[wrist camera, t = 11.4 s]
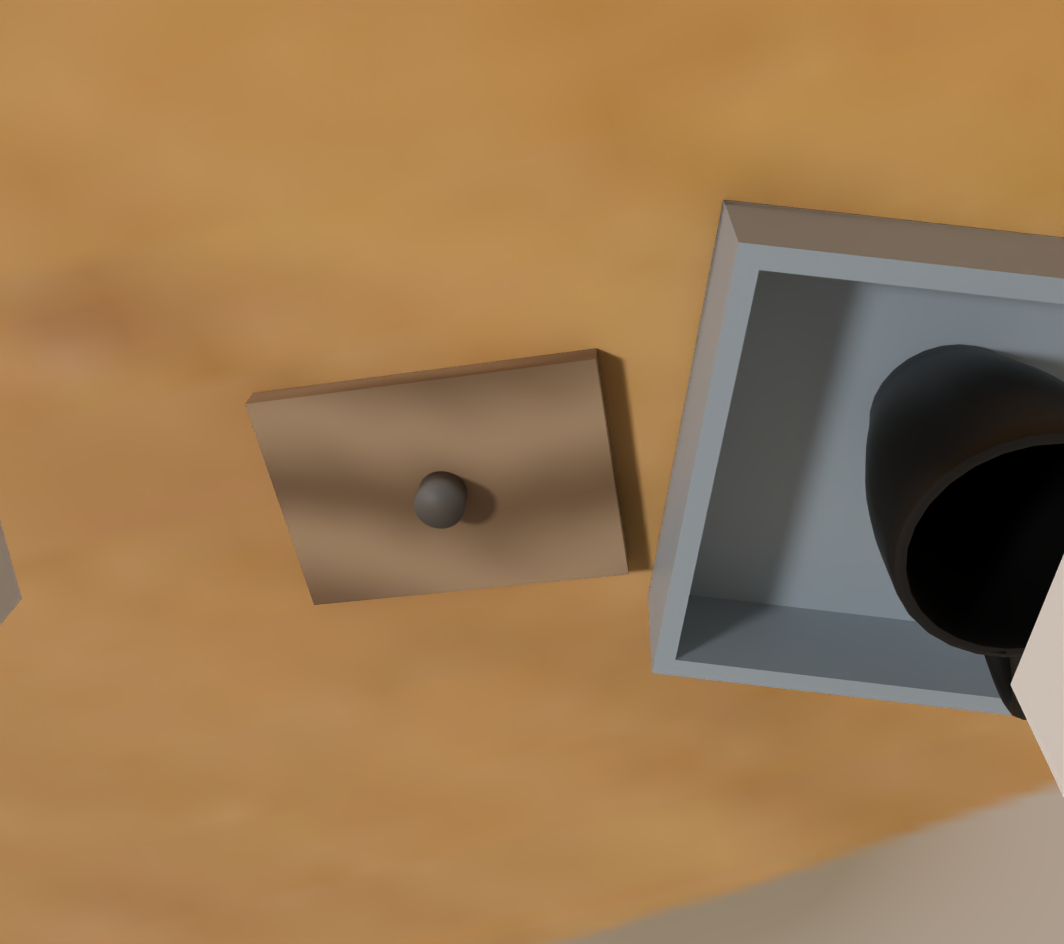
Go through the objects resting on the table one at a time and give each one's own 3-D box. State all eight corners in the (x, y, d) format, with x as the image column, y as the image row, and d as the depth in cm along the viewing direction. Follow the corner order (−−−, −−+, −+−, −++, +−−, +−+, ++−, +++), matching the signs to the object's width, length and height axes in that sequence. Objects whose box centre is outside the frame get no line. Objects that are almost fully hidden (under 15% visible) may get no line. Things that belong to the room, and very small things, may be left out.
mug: (852, 591, 42) (908, 759, 34) (822, 333, 37) (882, 460, 29) (1056, 561, 41) (1167, 728, 33) (1059, 287, 35) (1194, 407, 27)
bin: (723, 199, 35) (738, 242, 31) (1281, 261, 35) (1375, 313, 31) (648, 596, 44) (651, 672, 40) (1092, 648, 44) (1144, 731, 40)
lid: (253, 393, 40) (235, 418, 39) (596, 348, 38) (595, 372, 36) (320, 591, 45) (307, 621, 43) (628, 560, 43) (628, 591, 41)
